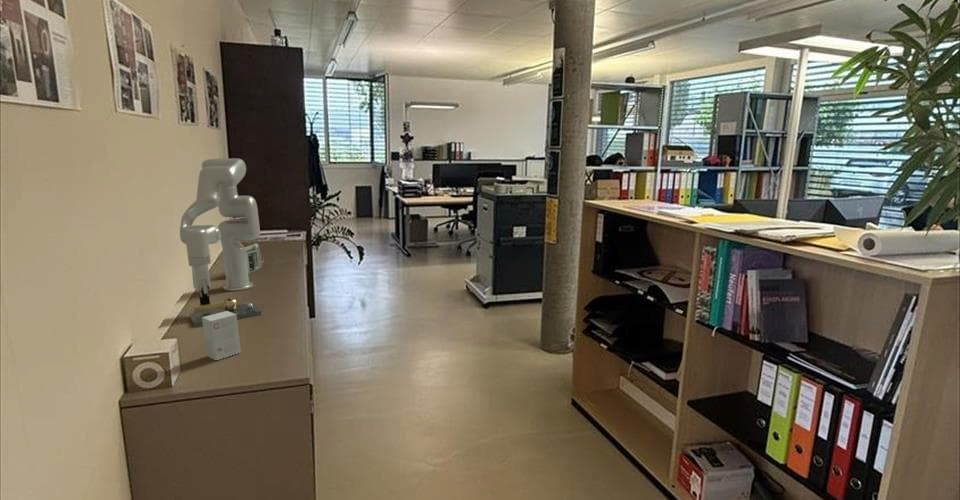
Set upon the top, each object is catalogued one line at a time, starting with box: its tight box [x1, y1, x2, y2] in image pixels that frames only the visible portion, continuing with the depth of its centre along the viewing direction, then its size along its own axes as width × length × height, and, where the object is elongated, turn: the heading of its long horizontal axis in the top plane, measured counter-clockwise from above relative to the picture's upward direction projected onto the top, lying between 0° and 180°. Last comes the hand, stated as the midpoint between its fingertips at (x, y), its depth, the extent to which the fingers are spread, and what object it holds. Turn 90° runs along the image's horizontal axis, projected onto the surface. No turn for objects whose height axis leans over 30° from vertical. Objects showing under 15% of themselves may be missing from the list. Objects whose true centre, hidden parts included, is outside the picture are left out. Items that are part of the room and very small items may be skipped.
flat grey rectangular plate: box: [188, 301, 262, 328], centre depth 204 cm, size 14×23×4 cm, turn 126°
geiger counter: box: [244, 243, 265, 274], centre depth 275 cm, size 14×6×25 cm
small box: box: [202, 311, 242, 361], centre depth 165 cm, size 8×6×13 cm
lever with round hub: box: [192, 297, 238, 314], centre depth 204 cm, size 4×15×4 cm, turn 126°
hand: (205, 306), depth 207 cm, fingers closed
